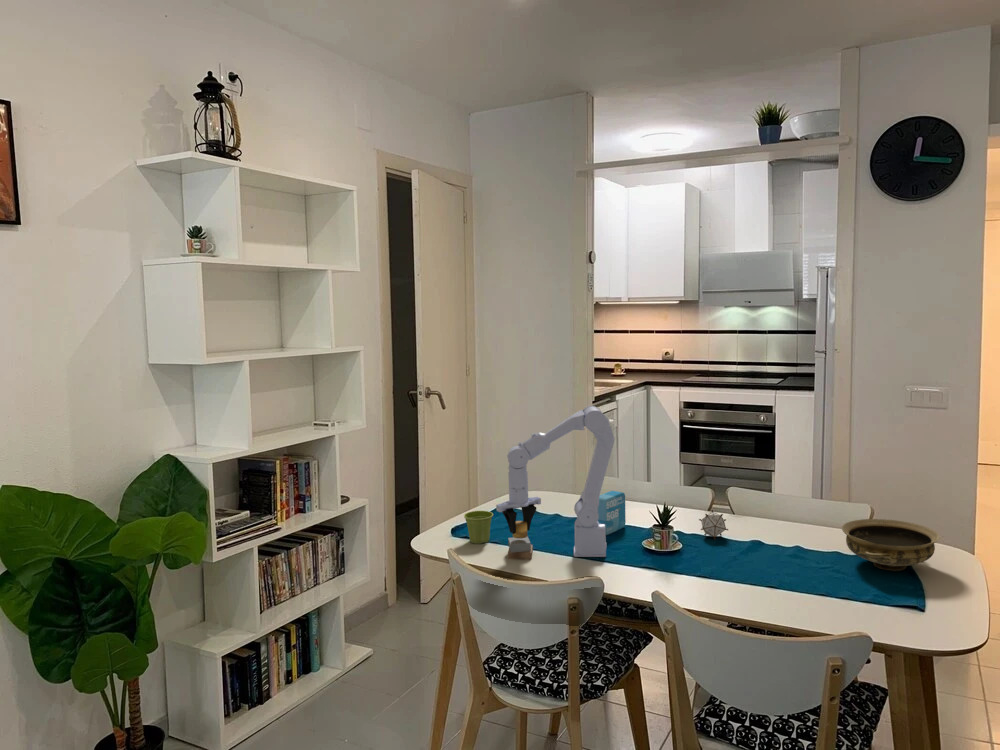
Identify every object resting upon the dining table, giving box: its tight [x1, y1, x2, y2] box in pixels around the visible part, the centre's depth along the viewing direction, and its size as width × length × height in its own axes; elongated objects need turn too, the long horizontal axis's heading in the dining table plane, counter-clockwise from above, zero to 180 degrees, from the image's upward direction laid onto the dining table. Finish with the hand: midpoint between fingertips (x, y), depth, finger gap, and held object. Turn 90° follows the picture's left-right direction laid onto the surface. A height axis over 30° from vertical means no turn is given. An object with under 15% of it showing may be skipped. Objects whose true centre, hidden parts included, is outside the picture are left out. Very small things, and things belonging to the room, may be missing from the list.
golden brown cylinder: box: [512, 520, 528, 538], centre depth 227 cm, size 4×4×4 cm
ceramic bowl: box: [841, 518, 940, 572], centre depth 209 cm, size 30×24×10 cm
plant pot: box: [463, 510, 494, 545], centre depth 241 cm, size 9×9×9 cm
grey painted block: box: [507, 536, 532, 553], centre depth 227 cm, size 6×6×2 cm
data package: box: [598, 490, 626, 536], centre depth 248 cm, size 12×4×12 cm, turn 138°
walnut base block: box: [507, 544, 534, 560], centre depth 228 cm, size 7×7×2 cm
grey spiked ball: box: [698, 509, 729, 540], centre depth 238 cm, size 9×8×10 cm
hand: (519, 531), depth 227 cm, fingers closed on golden brown cylinder, 4 cm apart
